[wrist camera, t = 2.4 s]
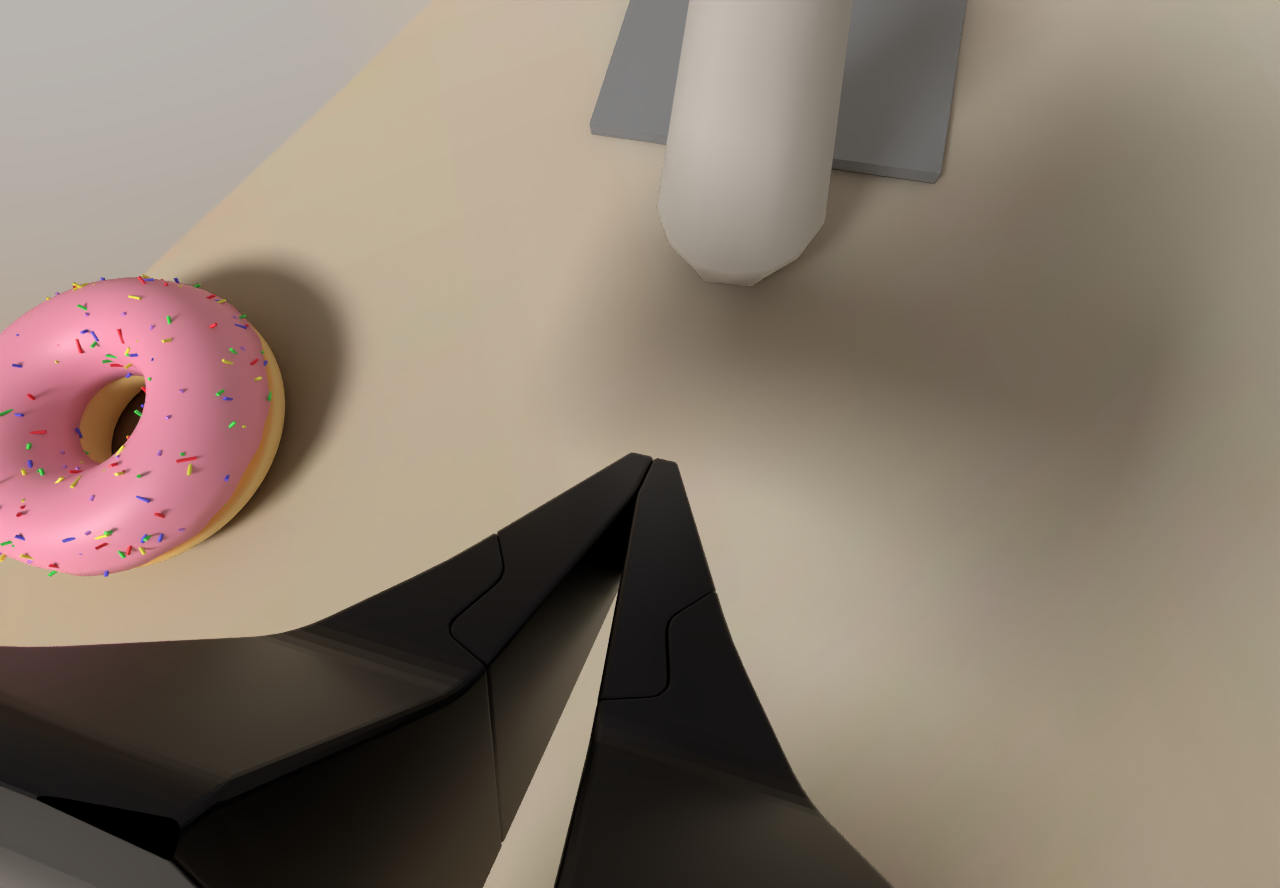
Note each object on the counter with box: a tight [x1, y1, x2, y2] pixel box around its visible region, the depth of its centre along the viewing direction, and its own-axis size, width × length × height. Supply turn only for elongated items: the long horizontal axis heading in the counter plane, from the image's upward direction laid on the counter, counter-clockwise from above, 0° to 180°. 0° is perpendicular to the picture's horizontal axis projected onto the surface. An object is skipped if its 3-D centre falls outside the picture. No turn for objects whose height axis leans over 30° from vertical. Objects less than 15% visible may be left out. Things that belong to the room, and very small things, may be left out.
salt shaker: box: [657, 0, 853, 287], centre depth 14 cm, size 6×6×13 cm
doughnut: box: [0, 274, 285, 577], centre depth 18 cm, size 11×11×4 cm
